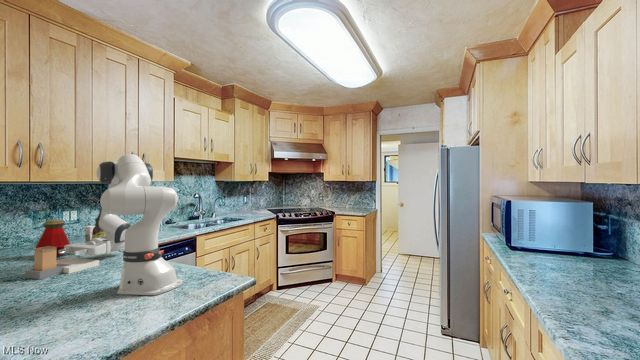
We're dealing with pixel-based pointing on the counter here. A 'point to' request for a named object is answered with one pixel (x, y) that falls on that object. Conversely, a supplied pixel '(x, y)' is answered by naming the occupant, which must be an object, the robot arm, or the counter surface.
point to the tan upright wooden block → (45, 258)
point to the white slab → (63, 267)
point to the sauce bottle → (97, 232)
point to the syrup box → (88, 233)
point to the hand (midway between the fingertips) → (66, 252)
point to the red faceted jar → (53, 236)
